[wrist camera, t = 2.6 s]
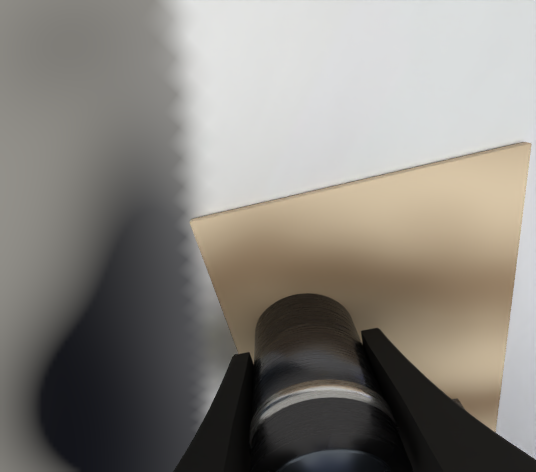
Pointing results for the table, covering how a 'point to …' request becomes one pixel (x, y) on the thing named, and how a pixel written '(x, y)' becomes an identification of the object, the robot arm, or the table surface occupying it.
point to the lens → (318, 394)
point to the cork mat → (390, 263)
